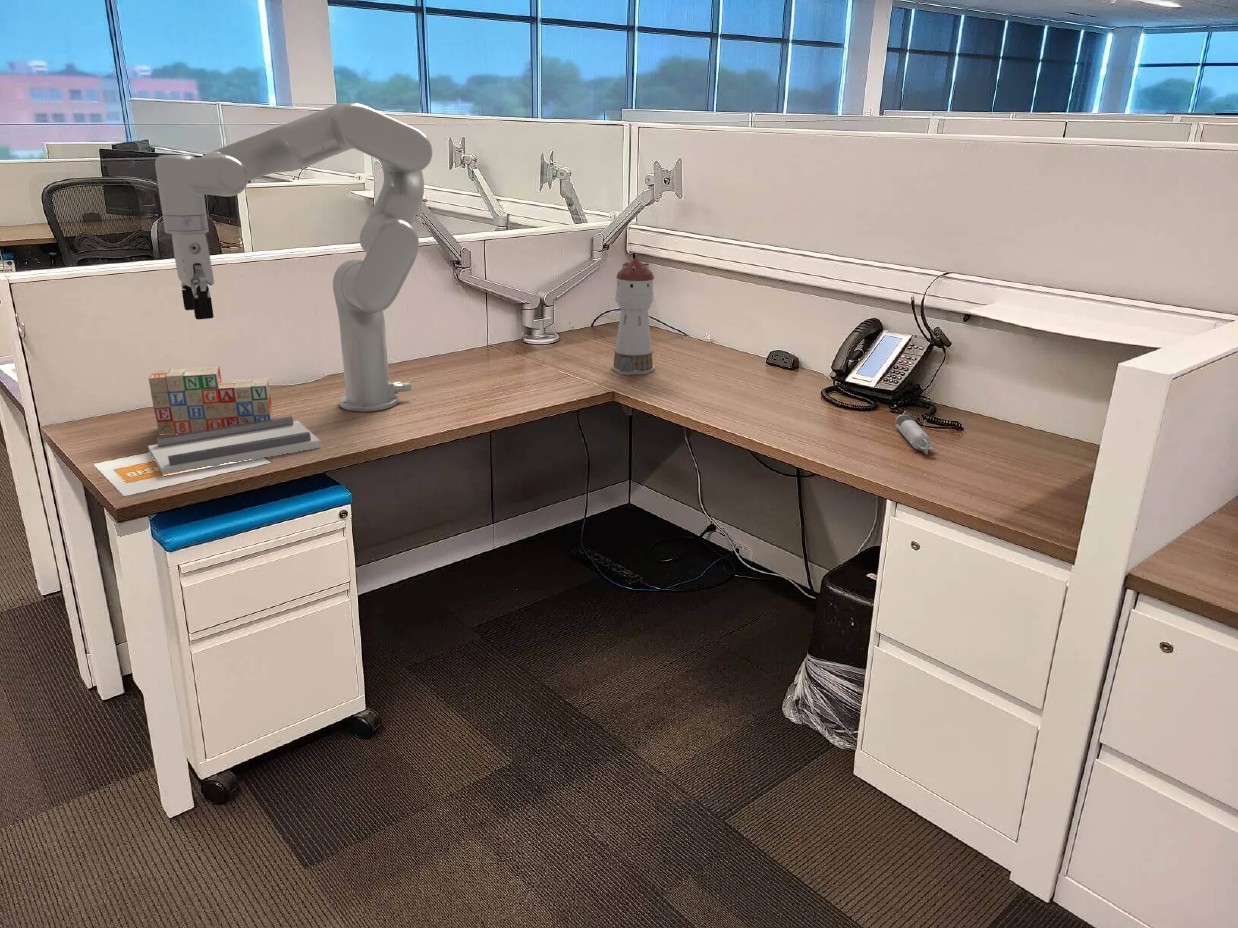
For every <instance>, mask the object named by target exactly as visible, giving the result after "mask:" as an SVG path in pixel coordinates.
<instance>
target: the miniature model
mask: <svg viewBox="0 0 1238 928" xmlns="http://www.w3.org/2000/svg"><path fill="white" fill-rule="evenodd" d="M634 255H635V257H634V258H633V259H632V260H631V261H629V262H625V263H623V264H622V268H621V269H620V270H619V271H618V272H617V275H616V276H615V278H616V293H615V301H616V303H617V305H618V306H617V307H618V308H620V315H619V321H618V328H617V334H616V339H615V340H616V341H615V347H614V350H613V354H614V356H613V357H614V358H613V363H612V364H611V370H612V371H614V372H615V373H617V374H618V375H624V376H625V375H626V376H630V375H645V374H651V373H653V372H654V371H655V368H656V367H655V365H654V364H653V353H654V350H653V348H652V340H651V339H652V337H651V330H650V319H649V318H650V317H649V311H648V310H649V309H650V308H651V304H652V303H653V302H654V300H655V299H654V279H655V277H654V274H653V272H652V271H651V270H650V269H649V268H650V267H649V263H643V262H642V261H640V259H638V258H637V253H635V254H634Z"/></svg>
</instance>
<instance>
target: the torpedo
mask: <svg viewBox="0 0 1238 928" xmlns="http://www.w3.org/2000/svg"><path fill="white" fill-rule="evenodd" d="M926 421H927V419H924V425H923V429H922V428H921V427H920V425H918V423H917V422H916V421H915V420H913V419H912V417H911V416H910V415H908V414H899V415H898V416H897V417H896V419H895V427H896V429H897V431H899V432H900V433H901V434H902V436H904V438H905V439H906V440H907V441H908V442H909V444H910V445H911V446H912V448H914V449H915V450H917V451H918V450H919V451H922V452H923V453H924V454H925V455H928V453H929V450H933V446H932V445H931V444H935V442H932V441H931V440H930V437H929V435H928V433H926V432H925V426H926Z"/></svg>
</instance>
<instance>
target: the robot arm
mask: <svg viewBox="0 0 1238 928" xmlns="http://www.w3.org/2000/svg"><path fill="white" fill-rule="evenodd" d="M352 149H353V150H357V151H359V152H361V153H363V154H366V155H368V156H371V157H372V158H375V159H378V161H379V163H380V165H381V168H382V171H383V184H382V187H381V189H380V193H379V195H378V197H377V199H376V201H375V202H374V205H373V207H372V209H371V211H370V212H369V214H368V217H367V218H366V220H365V222H364V224H363V226H362V228H361V230H360V233H359V244H360V246H361V249H362V250H363V251H364V253H365V257H364V258H363V260H361V259H350V260H346V261H344V262H343V263H341V264H340V265H339V266H338V267H337V268H336V270H335V272H334V274H333V279H332V290H333V297H334V301H335V304H336V308H337V316H338V323H339V331H340V332H339V334H340V344H341V355H342V365H343V374H344V376H343V377H344V383H345V384H344V386H345V387H344V388H345V395H343V396H342V397H340V398H339V406H340V407H341V408H342V409H344V410H347V411H351V412H364V413H365V412H376V411H377V412H378V411H382V410H387V409H390V408H393V407H394V406H396V405H397V404H398V402H399V397H398V394H399V393H400V392H402V393H403V392H410V391H411V390H412V385H411V382H403V383H401V381H397V382H392V381H390V373H389V361H388V360H389V359H388V346H387V332H386V331H387V330H386V322H385V315H384V311H386V310H387V309H388V308H390V307H391V305H392V304H393V303H394V301H395V300H396V299H397V297H398V295H399V293H400V291H401V289H402V287H403V286H404V284H405V281H406V280H407V278H408V277H409V276H408V275H409V273H410V271H411V270H412V268H413V266H414V263H415V262H416V259H417V257H418V253H419V249H420V241H419V235H418V232H417V231H416V230H415V228H414V227H413V223H414V221H415V218H416V217H417V214H418V212H419V210H420V209H421V208H420V207H421V205H422V203H423V199H424V195H425V181H424V175H423V170H425V169H426V168H427V167H428V166H429V164H431V161H432V158H433V148H432V144H431V141H430V139H429V138H428V137H427V136H426V134H425V133H424V132H422V131H421V130H419V129H418V128H415V127H413V126H411V125H409V124H406V123H404V122H402V121H400V120H398V119H395V118H394V117H391V116H389V115H386V114H385V113H382V112H380V111H378V110H376V109H374V108H371V107H369V106H367V105H364V104H362V103H355V102H354V103H351V102H343V103H342V102H341V103H337V104H334V105H330V106H329V107H328V106H327V108H323V109H321V110H318V111H315V112H313V113H310V114H308V115H304V116H303V117H299V118H298V119H295V120H292V121H290V122H288V123H284V124H281V125H278V126H276V127H273V128H271V129H267V130H265V131H263V132H260V133H259V134H255V135H253V136H249V137H247V138H244V139H240V140H238V141H236V142H232V143H231V144H228V145H225V146H223V147H220V148H218V149H213V150H212V151H210V152H207V153H205V154H204V155H203V156H201V157H195V156H194V155H187V154H164V155H163V154H162V155H160V156H157V158H155V162H154V166H155V173H156V174H155V175H156V180H157V186H158V192H159V193H158V194H159V200H160V206H161V213H162V220H163V226H164V232H165V234H168V235H169V234H171V239H172V241H171V242H172V247H173V254H174V261H175V266H176V267H175V268H176V273H177V277H178V279H179V281H180V282H181V293H182V295H181V296H182V300H183V307H184V310H185V311H193V312H194V318H195V319H196V320H199V321H200V320H208V319H213V318H214V316H215V315H214V309H213V302H212V297H211V293H210V288H209V286H213V285H214V284H215V278H214V274H213V273H214V271H213V267H212V261H211V256H210V250H209V246H208V245H209V244H208V241H207V237H206V234H207V233H209V231H210V230H209V223H208V216H207V215H208V214H207V208H206V201H205V195H208V196H217V197H218V196H219V197H225V198H226V197H234V196H235V197H236V196H237V195H239V194H241V193H242V192H243V191H244V190H245V189H246V187H247V185H248V184H249V183H248V182H249V181H252V180H255V179H259V178H262V177H264V176H268V175H271V174H276V173H286V172H293V171H297V170H302V169H305V168H307V167H310V166H313V165H314V164H317V163H319V162H321V161H324V160H326V159H328V158H332V157H334V156H337V155H339V154H342V153H343V152H346V151H348V150H352Z"/></svg>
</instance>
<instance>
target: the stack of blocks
mask: <svg viewBox="0 0 1238 928" xmlns="http://www.w3.org/2000/svg"><path fill="white" fill-rule="evenodd" d="M220 369H221V368H220V365H217V366H216V365H215V366H197V367H196V366H194V367H184V368H183V367H182V368H165V369H154V370H153V371H152V373H151V374H150V376H149V377H148V385H149V388H150V395H151V400H152V405H153V411H154V414H155V415H154V416H155V419H156V424H157V425H156V426H157V431H158V435H159V434H184V433H190V432H196V431H203V430H209V429H215V428H221V427H227V426H233V425H239V424H245V423H252V422H258V421H264V420H270V419H275V418H274V412H273V411H274V410H273V403H272V398H271V389H270V381H269V377H260V378H259V377H257V378H240V379H239V378H238V379H223V380H222V375H221V370H220Z"/></svg>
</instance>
